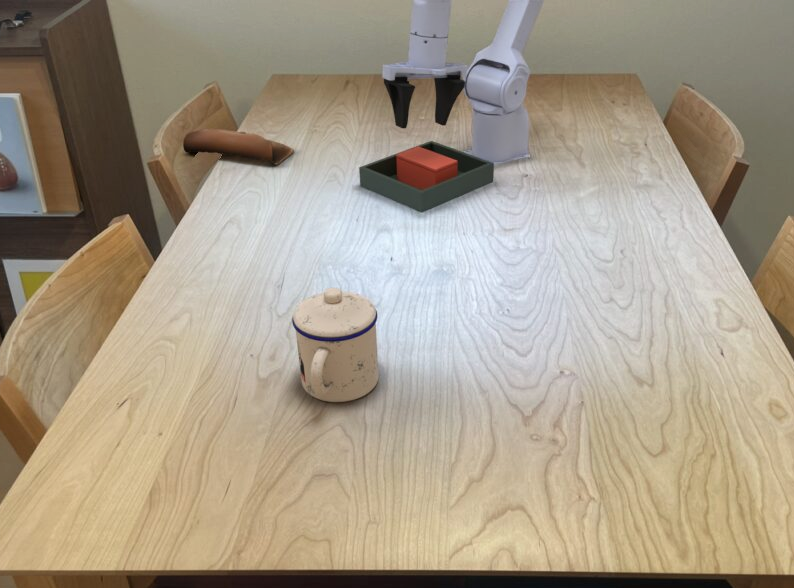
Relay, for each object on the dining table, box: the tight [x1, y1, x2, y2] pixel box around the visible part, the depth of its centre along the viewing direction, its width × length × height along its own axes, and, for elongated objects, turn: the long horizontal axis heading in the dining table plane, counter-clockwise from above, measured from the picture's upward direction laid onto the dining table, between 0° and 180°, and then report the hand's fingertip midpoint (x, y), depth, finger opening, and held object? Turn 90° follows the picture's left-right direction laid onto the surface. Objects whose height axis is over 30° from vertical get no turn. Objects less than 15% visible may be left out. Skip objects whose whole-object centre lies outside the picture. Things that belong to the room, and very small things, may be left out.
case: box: [396, 145, 458, 190], centre depth 142 cm, size 5×9×4 cm, turn 46°
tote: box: [358, 140, 495, 213], centre depth 143 cm, size 16×14×4 cm
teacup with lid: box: [291, 287, 380, 403], centre depth 95 cm, size 12×9×12 cm
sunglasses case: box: [182, 128, 295, 166], centre depth 155 cm, size 18×7×7 cm
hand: (421, 125), depth 138 cm, fingers open, 7 cm apart
